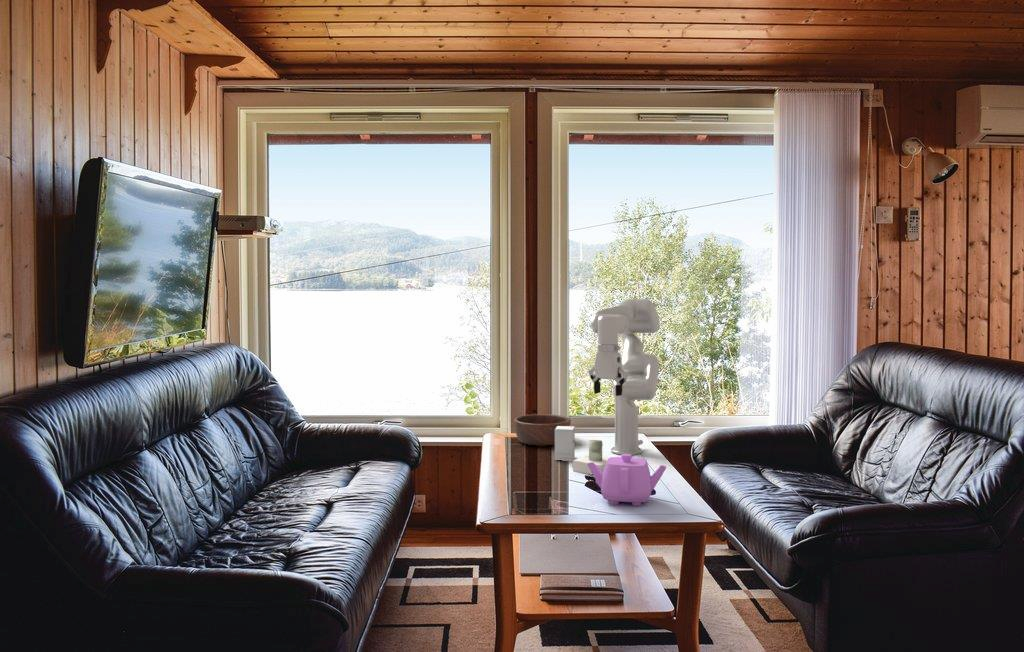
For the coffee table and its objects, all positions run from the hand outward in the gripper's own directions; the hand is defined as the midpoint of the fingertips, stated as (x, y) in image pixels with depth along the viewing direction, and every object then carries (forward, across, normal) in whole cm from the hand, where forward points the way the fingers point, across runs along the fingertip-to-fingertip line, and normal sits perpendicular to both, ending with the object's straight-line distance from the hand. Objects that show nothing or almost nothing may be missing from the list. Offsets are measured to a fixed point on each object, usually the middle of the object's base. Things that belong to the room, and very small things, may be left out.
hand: (607, 394), depth 280 cm
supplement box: (+29, +22, -2) cm, 36 cm away
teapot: (+29, -28, +30) cm, 50 cm away
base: (+28, +2, +5) cm, 29 cm away
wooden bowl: (+29, +49, -21) cm, 61 cm away
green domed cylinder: (+24, +2, +5) cm, 25 cm away
